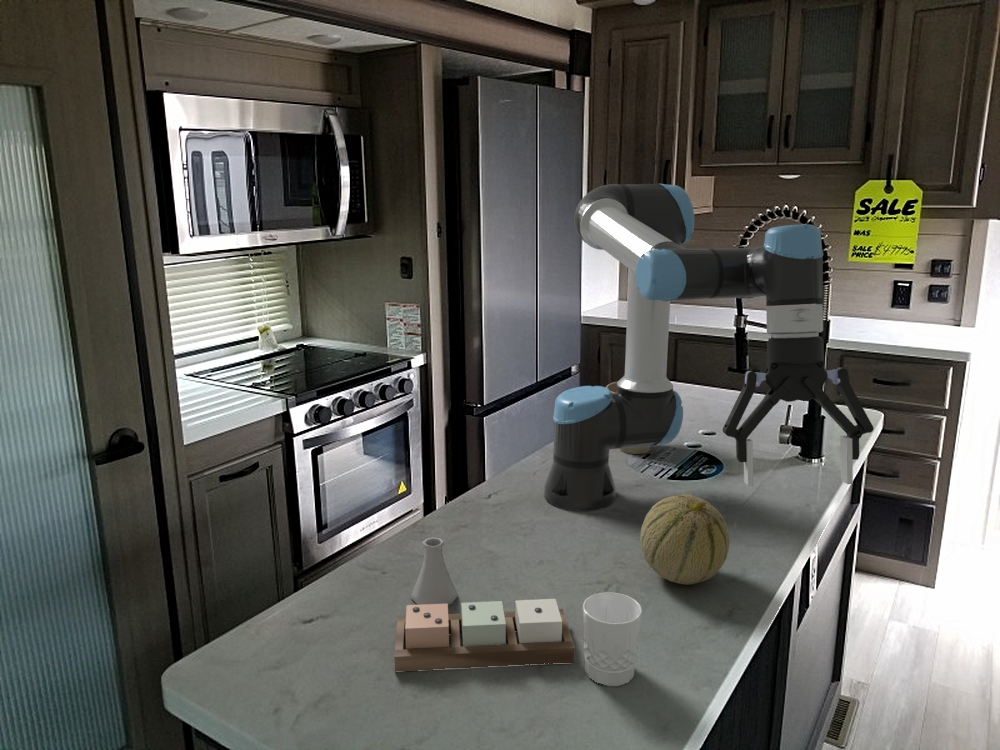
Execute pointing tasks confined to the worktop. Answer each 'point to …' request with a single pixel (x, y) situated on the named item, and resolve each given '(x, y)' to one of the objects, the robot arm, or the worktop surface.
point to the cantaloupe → (684, 539)
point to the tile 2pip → (483, 623)
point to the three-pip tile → (427, 626)
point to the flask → (434, 577)
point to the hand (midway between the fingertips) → (797, 483)
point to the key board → (482, 649)
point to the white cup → (611, 637)
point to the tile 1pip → (538, 621)
